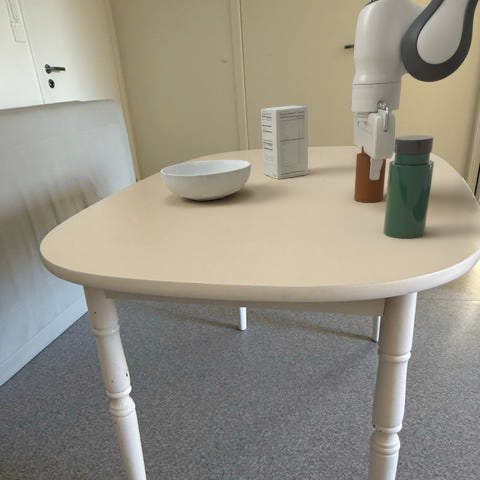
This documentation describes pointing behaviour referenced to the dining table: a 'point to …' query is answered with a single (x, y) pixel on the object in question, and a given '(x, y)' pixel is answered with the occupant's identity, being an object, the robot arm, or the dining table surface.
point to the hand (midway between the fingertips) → (370, 175)
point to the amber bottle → (368, 180)
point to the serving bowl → (206, 178)
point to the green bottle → (409, 187)
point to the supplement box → (285, 141)
